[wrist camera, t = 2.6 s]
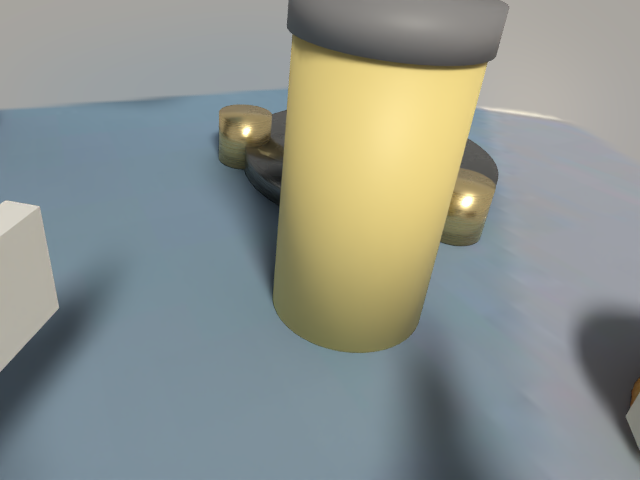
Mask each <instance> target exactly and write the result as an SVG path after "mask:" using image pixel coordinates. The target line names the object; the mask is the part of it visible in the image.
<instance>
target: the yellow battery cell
mask: <svg viewBox="0 0 640 480" xmlns="http://www.w3.org/2000/svg"><path fill="white" fill-rule="evenodd" d="M508 10H509V6H508V4H506V3H505V2H503V1H500V0H289V4H288V18H287V28H288V30H289V31H290V32H291V33H292V34H293V35H292V48H291V62H290V75H289V88H288V102H287V115H286V128H285V142H284V155H283V168H282V182H281V195H280V208H279V222H278V235H277V248H276V262H275V275H274V288H273V303H274V307H275V310H276V312H277V314H278V316H279V317H280V319H281V320H282V321H283V323H284V324H285V325H286V326H287V327H288V328H289V329H291V330H292V331H293V332H294V333H296V334H297V335H299V336H300V337H302V338H303V339H305V340H307V341H309V342H311V343H314V344H316V345H319V346H321V347H325V348H328V349H332V350H337V351H342V352H351V353H365V352H375V351H380V350H384V349H388V348H391V347H393V346H396V345H398V344H400V343H401V342H403V341H404V340H406V339H407V338H408V337H409V336H410V335H411V334H412V333H413V332H414V331H415V329H416V327H417V325H418V323H419V319H420V315H421V312H422V308H423V304H424V300H425V296H426V293H427V289H428V285H429V281H430V278H431V274H432V270H433V266H434V263H435V259H436V255H437V251H438V247H439V244H440V240H441V236H442V232H443V229H444V225H445V221H446V217H447V214H448V210H449V206H450V202H451V198H452V195H453V191H454V187H455V183H456V180H457V176H458V172H459V168H460V165H461V161H462V157H463V153H464V149H465V146H466V142H467V138H468V134H469V131H470V127H471V123H472V119H473V116H474V112H475V108H476V104H477V100H478V96H479V93H480V89H481V85H482V82H483V78H484V74H485V70H486V67H487V63H488V61H491V60H493V59H494V58H495V57H496V54H497V50H498V47H499V43H500V39H501V35H502V32H503V28H504V25H505V21H506V18H507V14H508Z"/></svg>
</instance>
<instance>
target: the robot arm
mask: <svg viewBox="0 0 640 480" xmlns="http://www.w3.org/2000/svg"><path fill="white" fill-rule="evenodd" d="M58 309H59V305H58V300H57V294H56V289H55V284H54V279H53V273H52V268H51V263H50V258H49V252H48V247H47V242H46V237H45V232H44V226H43V221H42V216H41V211H40V206H35V205H29V204H23V203H18V202H12V201H4V202H3V203H1V204H0V372H1V371H2V370H3V368H4V367H5V366H6V365H7V364H8V363H9V362H10V361H11V360H12V359H13V358H14V356H15V355H16V354H17V353H18V352H19V351H20V350H21V349H22V348H23V347H24V346H25V345H26V343H27V342H28V341H29V340H30V339H31V338H32V337H33V336H34V335H35V334H36V333H37V332H38V330H39V329H40V328H41V327H42V326H43V325H44V324H45V323H46V322H47V321H48V320H49V319H50V317H51V316H52V315H53V314H54V313H55V312H56V311H57V310H58ZM626 419H627V421H628V423H629V426H630V428H631V431H632V433H633V436H634V438H635V440H636V443H637V445H638V448H639V450H640V393H639V394H638V396H637V398H636V399H635V401H634V403H633V405H632V406H631V408H630V410H629V411H628V413H627V415H626Z"/></svg>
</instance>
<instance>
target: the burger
mask: <svg viewBox="0 0 640 480" xmlns="http://www.w3.org/2000/svg"><path fill="white" fill-rule="evenodd" d="M639 393H640V377H639V378H638V380H637V381H636V382H635V384H634V387H633V389H632V399H631V402H630V408H631V406H632V405H633V403H634V401H635V399H636V398H637V396H638V394H639Z"/></svg>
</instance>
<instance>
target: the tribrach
mask: <svg viewBox="0 0 640 480" xmlns="http://www.w3.org/2000/svg"><path fill="white" fill-rule="evenodd" d="M286 115H287V110H285V111H281V112H278V113H274V114H271V112H270V111H268V110H266V109H264V108H261V107H258V106H252V105H230V106H226V107H224V108H222V109H221V110H220V111H219V160H220V161H221V162H222V163H223V164H225V165H227V166H229V167H232V168H237V169H245V173H246V175H247V177H248V179H249V181H250V182H251V183H252V184H253V185H254V187H255V188H256V189H257V190H258V191H260V192H261V193H262V194H263V195H264V196H265V197H267V198H268V199H270V200H271V201H273V202H274V203H276V204H278V205H279V206H280V195H281V182H282V168H283V155H284V142H285V128H286ZM497 181H498V169H497V166H496V164H495V162H494V161H493V159H492V158H491V157H490V156H489V154H488V153H487V152H486V151H484V150H483V149H482V148H481V147H480V146H478V145H477V144H476V143H474V142H473V141H471V140H469V139H468V138H467V142H466V146H465V149H464V153H463V157H462V161H461V165H460V168H459V172H458V176H457V180H456V183H455V187H454V191H453V195H452V198H451V202H450V206H449V210H448V214H447V217H446V221H445V225H444V229H443V232H442V236H441V240H440V242H443V243H446V244H450V245H456V246H467V245H472V244H475V243H477V242H478V241H479V239H480V237H481V234H482V230H483V227H484V224H485V221H486V217H487V214H488V211H489V208H490V205H491V201H492V198H493V195H494V192H495V189H496V184H497Z"/></svg>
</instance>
